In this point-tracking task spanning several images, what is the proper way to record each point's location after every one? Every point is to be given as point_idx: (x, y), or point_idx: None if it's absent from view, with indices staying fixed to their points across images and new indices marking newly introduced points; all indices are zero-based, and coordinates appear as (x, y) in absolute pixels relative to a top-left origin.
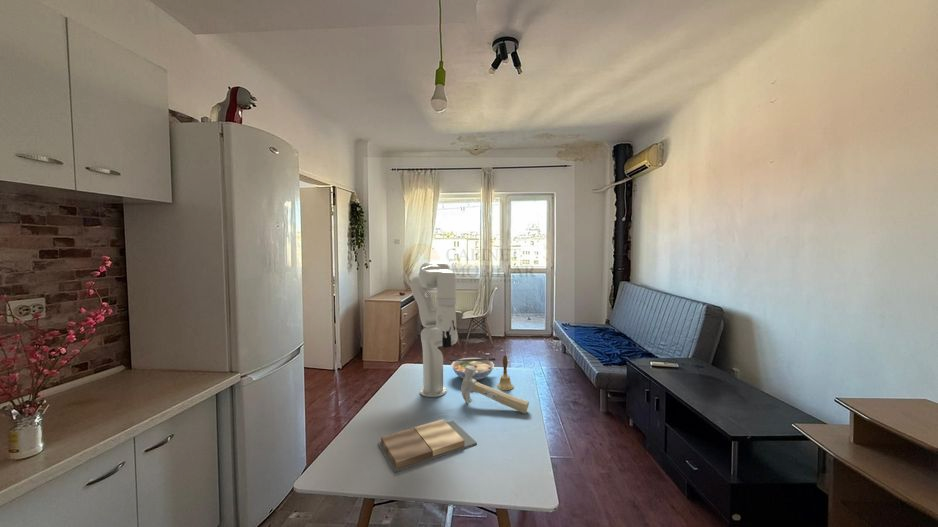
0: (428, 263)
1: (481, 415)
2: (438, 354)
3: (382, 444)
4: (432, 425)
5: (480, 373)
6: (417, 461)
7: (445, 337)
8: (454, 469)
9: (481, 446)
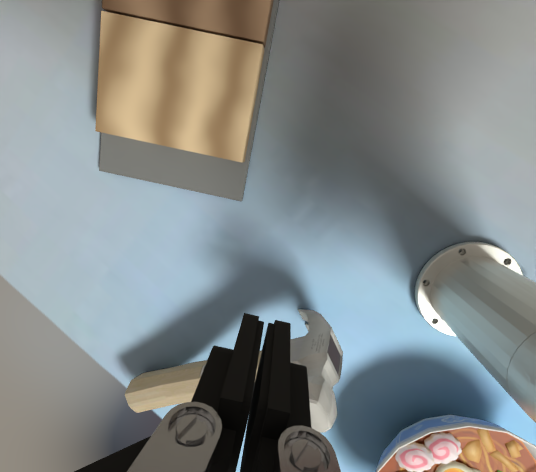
0: None
1: (216, 288)
2: None
3: None
4: (230, 106)
5: (380, 461)
6: None
7: (196, 420)
8: (40, 40)
9: (86, 172)
